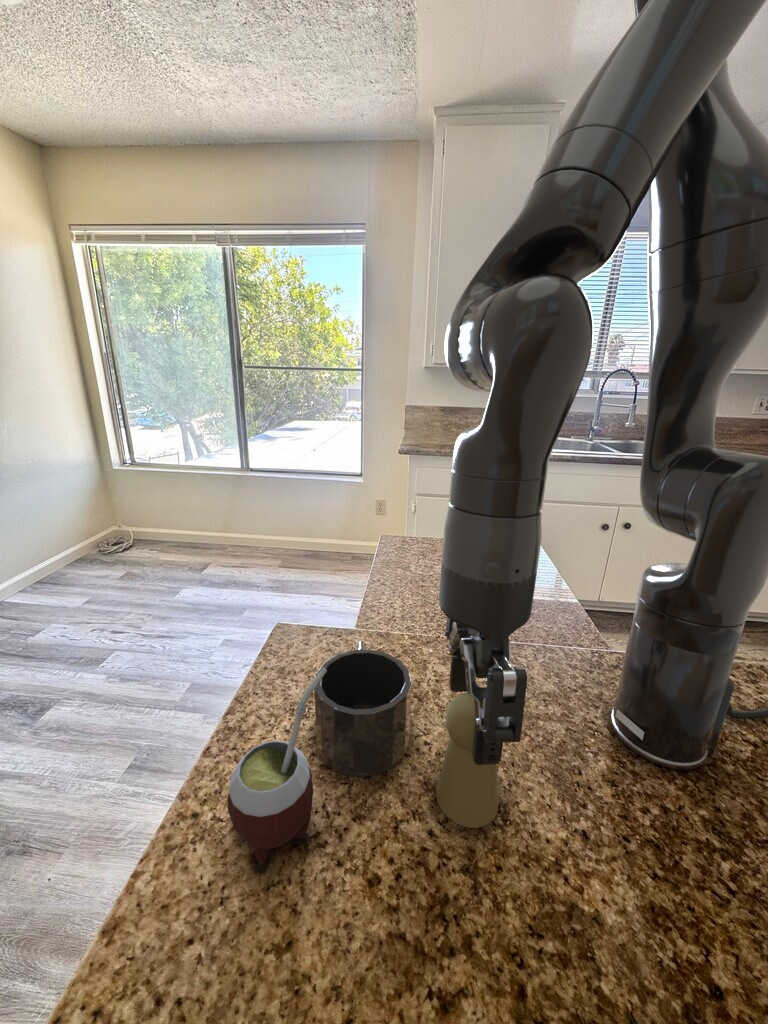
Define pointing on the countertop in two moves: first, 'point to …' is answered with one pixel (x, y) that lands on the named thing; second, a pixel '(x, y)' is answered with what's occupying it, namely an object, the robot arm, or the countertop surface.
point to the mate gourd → (273, 792)
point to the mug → (363, 712)
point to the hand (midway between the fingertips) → (471, 721)
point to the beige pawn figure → (466, 771)
